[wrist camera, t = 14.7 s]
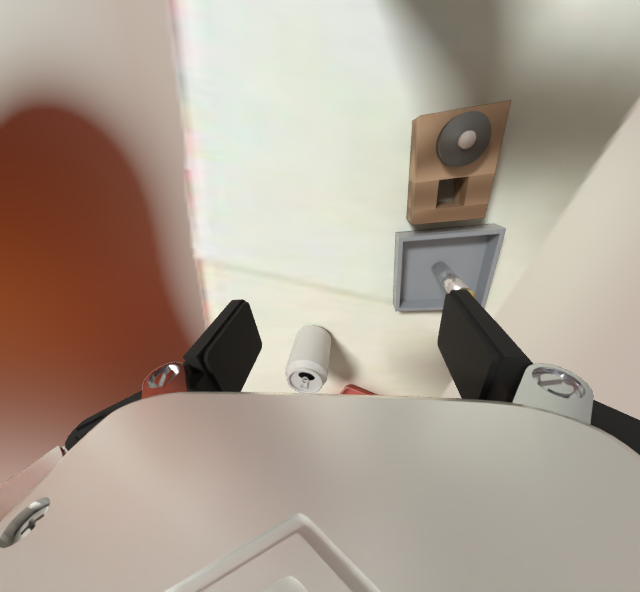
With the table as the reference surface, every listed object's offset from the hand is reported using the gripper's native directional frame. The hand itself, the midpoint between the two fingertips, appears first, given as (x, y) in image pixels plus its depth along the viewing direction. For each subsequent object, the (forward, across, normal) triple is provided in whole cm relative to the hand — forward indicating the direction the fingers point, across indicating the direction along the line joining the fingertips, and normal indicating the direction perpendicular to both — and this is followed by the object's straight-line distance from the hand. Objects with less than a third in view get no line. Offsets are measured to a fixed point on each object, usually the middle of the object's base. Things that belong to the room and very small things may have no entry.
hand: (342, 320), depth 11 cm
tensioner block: (+28, -13, -4) cm, 31 cm away
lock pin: (+28, -14, +10) cm, 33 cm away
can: (+28, +9, +25) cm, 39 cm away
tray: (+28, -14, +10) cm, 33 cm away
